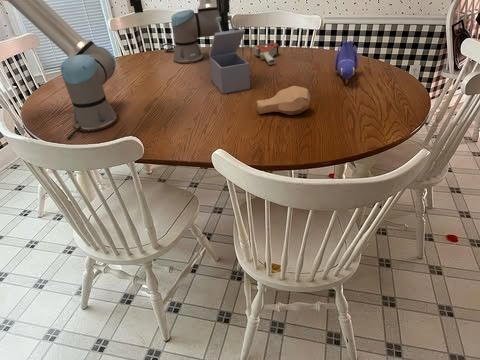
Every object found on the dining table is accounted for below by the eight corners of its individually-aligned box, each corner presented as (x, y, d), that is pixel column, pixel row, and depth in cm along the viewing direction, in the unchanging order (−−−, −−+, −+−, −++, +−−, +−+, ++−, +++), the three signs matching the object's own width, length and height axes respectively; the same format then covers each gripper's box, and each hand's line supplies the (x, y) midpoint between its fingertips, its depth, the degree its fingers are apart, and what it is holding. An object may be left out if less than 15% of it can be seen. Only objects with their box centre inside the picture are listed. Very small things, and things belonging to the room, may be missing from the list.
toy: (333, 77, 168) (334, 87, 145) (335, 39, 161) (336, 43, 139) (355, 77, 166) (359, 86, 143) (358, 38, 159) (363, 42, 137)
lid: (245, 31, 141) (239, 10, 142) (215, 35, 138) (209, 14, 139) (236, 52, 158) (230, 33, 159) (209, 56, 155) (204, 37, 156)
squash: (314, 116, 128) (313, 95, 122) (259, 125, 130) (256, 105, 124) (308, 99, 136) (307, 78, 129) (257, 108, 138) (253, 88, 131)
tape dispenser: (271, 69, 174) (289, 54, 187) (272, 58, 171) (290, 44, 183) (241, 62, 182) (260, 49, 194) (241, 52, 178) (260, 39, 191)
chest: (250, 88, 152) (249, 63, 146) (222, 93, 149) (220, 68, 143) (237, 76, 165) (235, 52, 159) (211, 80, 162) (209, 56, 156)
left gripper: (138, -67, 101) (153, 14, 113) (129, -68, 120) (143, 2, 132) (111, -65, 99) (129, 17, 111) (106, -66, 118) (122, 4, 131)
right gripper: (235, -37, 127) (239, 32, 141) (223, -39, 139) (227, 25, 152) (215, -35, 125) (221, 35, 139) (204, -38, 137) (211, 27, 151)
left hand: (136, 9), depth 122 cm, fingers open, 13 cm apart
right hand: (224, 30), depth 146 cm, fingers closed on lid, 2 cm apart
